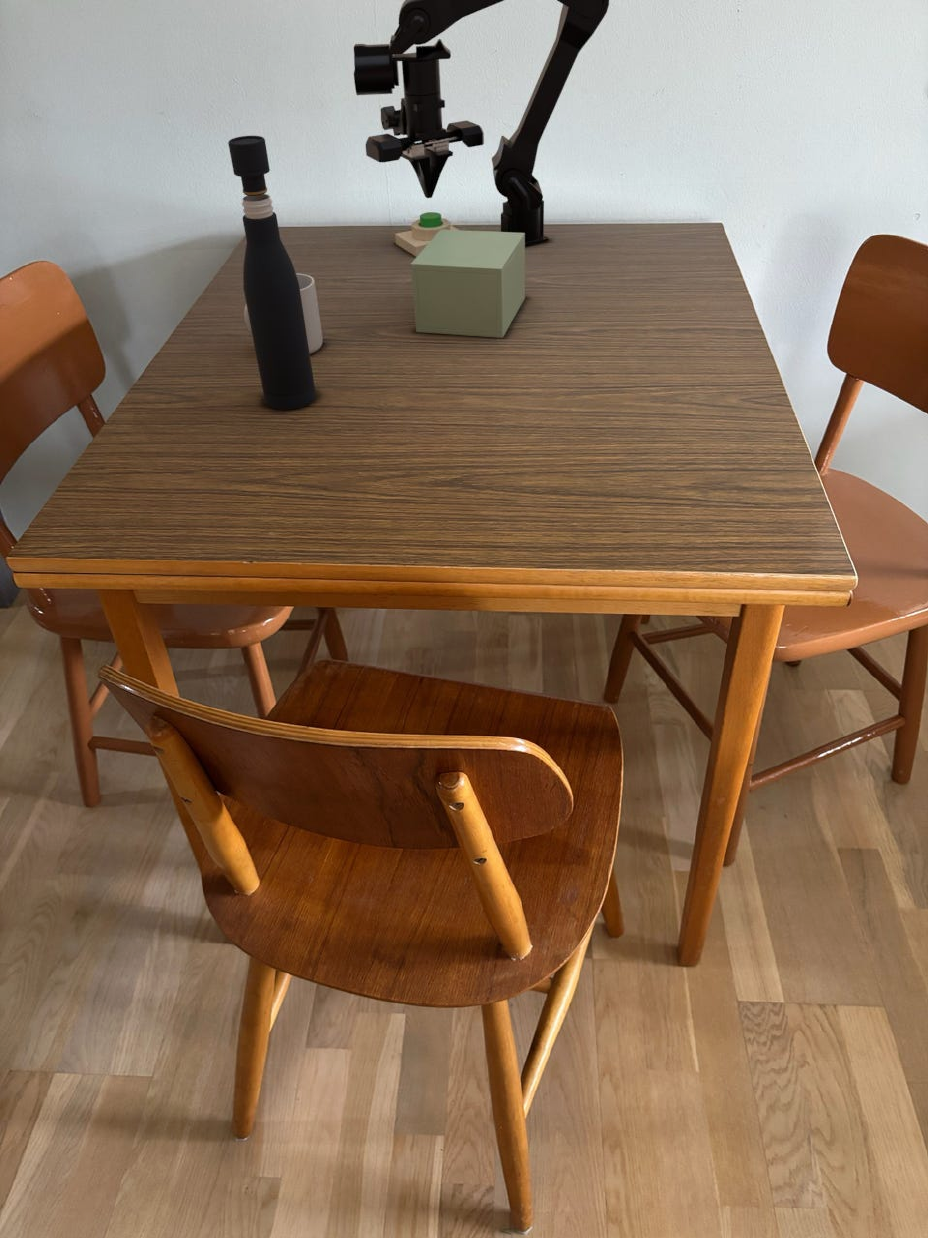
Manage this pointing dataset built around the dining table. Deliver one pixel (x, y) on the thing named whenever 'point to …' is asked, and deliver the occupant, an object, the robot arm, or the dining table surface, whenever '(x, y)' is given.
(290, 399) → the black insulated water bottle
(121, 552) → the dining table surface
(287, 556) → the dining table surface
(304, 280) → the cup
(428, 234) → the control block
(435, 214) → the button
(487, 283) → the sage green box
